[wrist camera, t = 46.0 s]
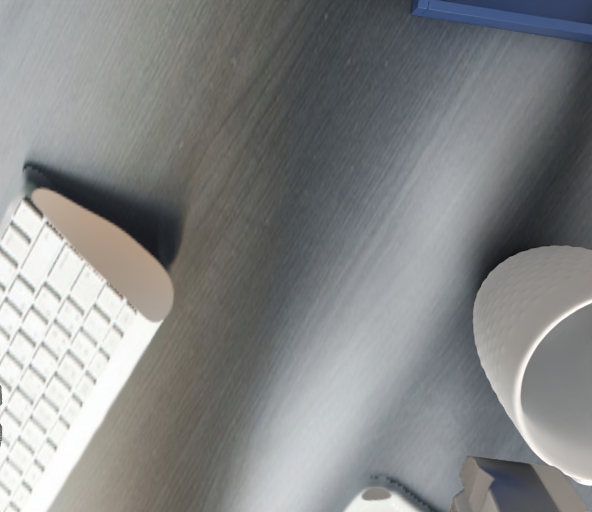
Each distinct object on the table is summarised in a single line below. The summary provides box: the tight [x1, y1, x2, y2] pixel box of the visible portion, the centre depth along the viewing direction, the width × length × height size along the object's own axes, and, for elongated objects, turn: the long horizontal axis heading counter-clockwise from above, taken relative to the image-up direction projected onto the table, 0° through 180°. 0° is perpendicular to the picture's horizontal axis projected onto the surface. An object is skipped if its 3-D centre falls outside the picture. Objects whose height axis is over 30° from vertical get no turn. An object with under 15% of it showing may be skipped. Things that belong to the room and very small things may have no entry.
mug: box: [473, 245, 592, 485], centre depth 33 cm, size 15×11×13 cm
